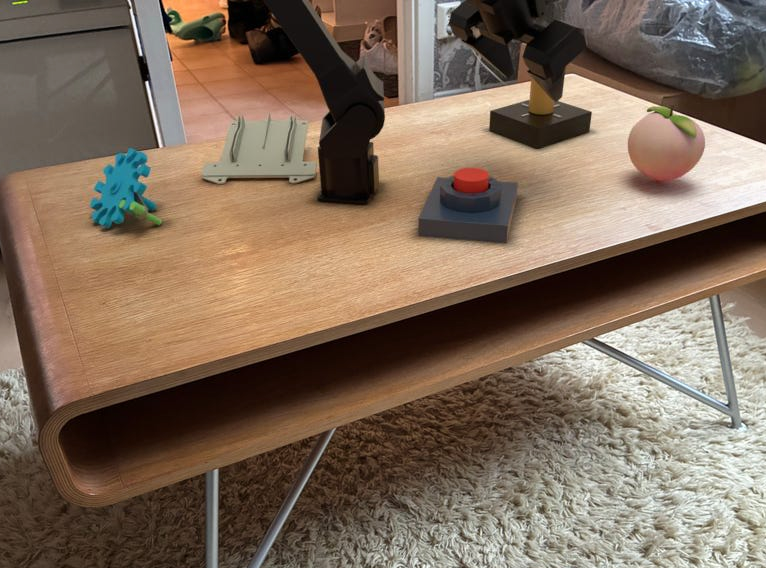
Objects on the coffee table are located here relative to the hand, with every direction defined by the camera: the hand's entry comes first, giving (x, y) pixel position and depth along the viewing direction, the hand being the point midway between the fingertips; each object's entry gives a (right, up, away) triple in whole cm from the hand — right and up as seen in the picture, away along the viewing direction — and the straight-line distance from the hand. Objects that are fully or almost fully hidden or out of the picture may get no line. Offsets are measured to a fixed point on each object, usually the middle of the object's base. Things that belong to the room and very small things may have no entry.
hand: (533, 87), depth 95 cm
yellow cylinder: (+4, +3, +17) cm, 18 cm away
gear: (-49, -17, -4) cm, 52 cm away
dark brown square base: (+4, 0, +19) cm, 19 cm away
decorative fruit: (+16, -12, +2) cm, 20 cm away
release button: (-8, -14, -7) cm, 18 cm away
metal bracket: (-35, -7, +10) cm, 37 cm away
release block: (-8, -17, -5) cm, 20 cm away
